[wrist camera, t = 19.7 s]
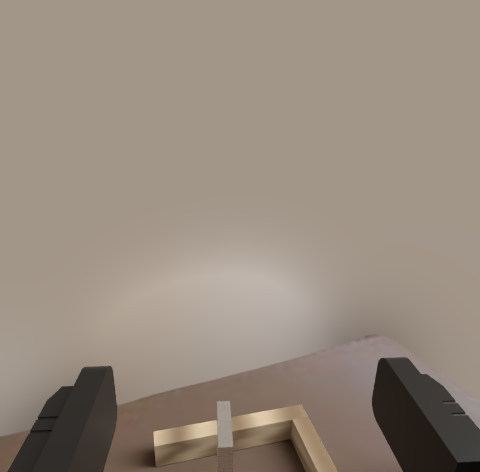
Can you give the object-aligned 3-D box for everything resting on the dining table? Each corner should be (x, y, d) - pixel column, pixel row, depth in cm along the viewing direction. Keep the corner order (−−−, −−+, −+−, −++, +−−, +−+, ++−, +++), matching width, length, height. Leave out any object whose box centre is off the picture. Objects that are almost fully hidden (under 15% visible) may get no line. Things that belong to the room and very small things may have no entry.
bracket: (218, 547, 34) (218, 447, 30) (216, 494, 39) (216, 401, 35) (289, 542, 34) (298, 443, 31) (279, 489, 39) (286, 398, 35)
